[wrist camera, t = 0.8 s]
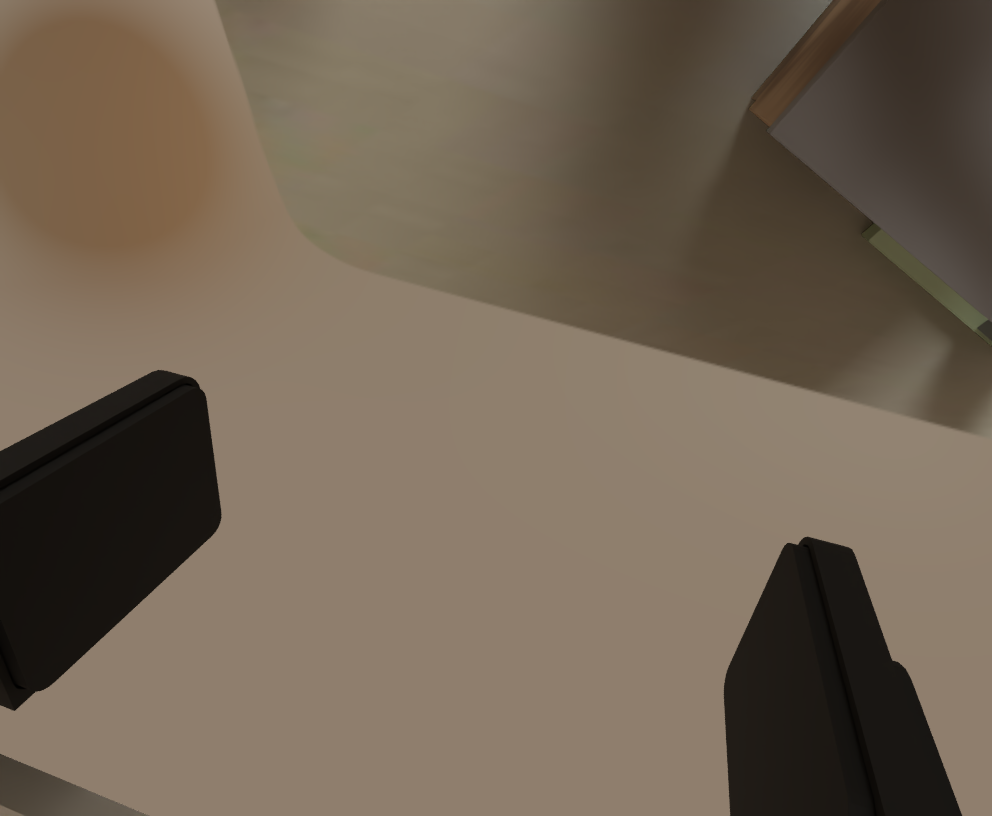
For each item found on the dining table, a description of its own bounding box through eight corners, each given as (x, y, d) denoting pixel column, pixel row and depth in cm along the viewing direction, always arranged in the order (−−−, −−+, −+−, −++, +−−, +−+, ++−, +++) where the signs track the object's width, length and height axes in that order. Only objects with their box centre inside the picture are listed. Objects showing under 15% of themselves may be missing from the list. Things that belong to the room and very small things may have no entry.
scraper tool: (893, 204, 32) (948, 238, 25) (1038, 328, 33) (1130, 395, 26) (860, 234, 33) (904, 275, 26) (1001, 353, 34) (1080, 424, 27)
